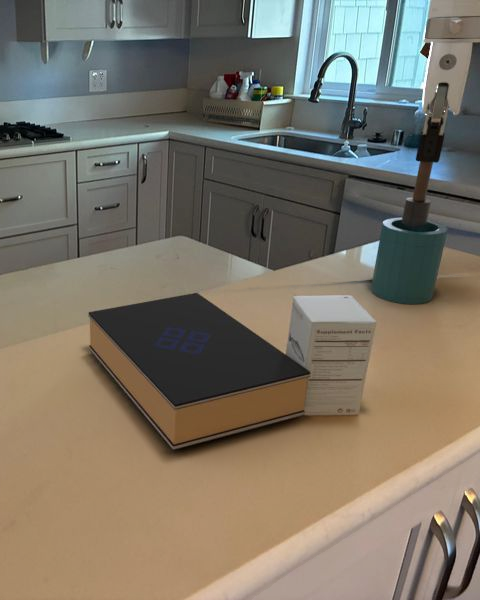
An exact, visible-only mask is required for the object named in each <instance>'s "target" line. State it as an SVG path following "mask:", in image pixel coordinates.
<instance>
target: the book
mask: <svg viewBox="0 0 480 600" xmlns="http://www.w3.org/2000/svg"><path fill="white" fill-rule="evenodd" d="M87 314H88V318H89V339H90V340H89V341H90V342H89V344H90V345H88V350H89V351H90V352H91V353H92V355H93V356H94V357H95V358H96V360H98V362H99V363H100V364H101V365H102V366H103V368H104V369H105V370H106V371H107V373H108V374H109V375H110V376H111V378H112V379H113V380H114V381H115V382H116V383H117V385H118V386H119V387H120V388H121V390H122V391H123V392H124V394H125V395H127V397H128V398H129V399H130V400H131V402H132V404H134V406H135V407H136V408H137V409H138V410H139V411H140V413H141V414H142V415H143V416H144V417H145V419H146V420H147V422H149V423H150V425H151V426H152V427H153V428H154V429H155V431H156V432H157V433H158V434H159V436H160V437H161V438H162V439H163V441H164V442H165V443H166V444H167V445H168V447H169V448H170V449H171V450H172V451H176V450H180V449H184V448H187V447H190V446H195V445H198V444H203V443H206V442H209V441H213V440H217V439H220V438H225V437H228V436H232V435H236V434H239V433H243V432H246V431H247V432H248V431H250V430H254V429H258V428H262V427H266V426H269V425H273V424H277V423H281V422H284V421H287V420H292V419H295V418H299V417H302V416H305V415H304V413H305V411H304V404H305V397H306V390H307V383H308V377H310V374H311V373H310V371H308V370H307V369H306V368H304V367H303V366H301V365H300V364H298V363H297V362H296V361H294V360H293V359H291V358H290V357H288V356H287V355H286V353H284V352H282V351H281V350H280V349H278V348H277V347H276V346H274V345H273V344H271V343H270V342H269V341H267V340H265V339H264V338H263V337H262V336H260V335H259V334H257V333H256V332H254V331H253V330H251V329H250V328H248V327H247V326H245V325H244V324H243V323H242V322H240V321H238V320H237V319H236V318H234V317H233V316H231V315H230V314H228V313H227V312H226V311H224V310H223V309H221V308H220V307H218V306H217V305H216V304H214V303H213V302H211V301H210V300H208V299H207V298H205V297H204V296H203V295H201V294H200V293H198V292H193V293H187V294H181V295H177V296H170V297H166V298H160V299H154V300H149V301H143V302H138V303H132V304H127V305H121V306H115V307H110V308H105V309H99V310H94V311H92V310H91V311H88V313H87Z"/></svg>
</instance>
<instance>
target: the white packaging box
mask: <svg viewBox="0 0 480 600" xmlns="http://www.w3.org/2000/svg"><path fill="white" fill-rule="evenodd" d="M376 327H377V321H376V319H375V318H373V316H372V315H371V314H370V313H369V312H368V311H367V310H366V309H365V308H364V306H362V305H361V304H360V303H359V302H358V301H357V299H355V298H354V296H353V295H350V294H349V295H347V294H340V295H339V294H336V295H335V294H334V295H331V294H329V295H294V296H293V297H292V304H291V312H290V321H289V327H288V336H287V343H286V350H285V354H286V355H287V356H288V357H290V358H291V359H293V360H294V361H296V362H297V363H298V364H300V365H301V366H303V367H304V368H306V369H307V370H308V371H310V373H311V374H310V377H308V383H307V390H306V397H305V404H304V411H305V413H304V415H303V416H357V415H358V416H359V414H360V410H361V404H362V399H363V393H364V387H365V383H366V378H367V373H368V368H369V362H370V357H371V353H372V347H373V344H374V337H375V333H376V332H375V331H376Z"/></svg>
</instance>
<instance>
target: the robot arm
mask: <svg viewBox="0 0 480 600" xmlns="http://www.w3.org/2000/svg"><path fill="white" fill-rule="evenodd" d="M422 43H426V44H430V49H429V55H428V60H427V65H426V72H425V77H424V84H423V91H422V102H421V103H422V104H421V105H422V107H421V112H422V113H423V114H424V115H425V120H424V125H423V130H422V131H421V132H420V135H419V141H418V145H417V150H416V155H415V161H416V162H420V161H421V162H433V163H435V164H437V163H439V162H440V159H441V153H442V149H443V144H444V139H445V132H444V131H445V127H446V122H447V118H448V113H449V112H451V113H452V114H453V116H457V115H459V114H460V112H461V111H460V110H461V107H462V106H461V105H462V101H463V97H464V92H465V87H466V83H467V78H468V73H469V69H470V64H471V58H472V51H473V45H474V43H480V0H430V1H429V6H428V11H427V18H426V22H425V27H424V32H423V39H422ZM427 128H428V130H427ZM426 133H427V135H426Z"/></svg>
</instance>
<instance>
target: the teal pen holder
mask: <svg viewBox="0 0 480 600" xmlns="http://www.w3.org/2000/svg"><path fill="white" fill-rule="evenodd" d="M401 222H402V217H393V218H387V219H384V220H383V221H382V224H381V225H382V226H381V230H380V236H379V241H378V242H379V243H378V247H377V252H376V257H375V258H376V259H375V263H374V270H373V274H372V280H371V287H370V291H371V293H372V294H373V295H375V296H376V297H378V298H380V299H382V300H386V301H388V302H392V303H396V304H403V305H422V304H426V303H429V302H430V301H432V299H433V296H434V294H435V293H434V292H435V288H436V283H437V279H438V275H439V270H440V266H441V261H442V257H443V252H444V249H445V243H446V239H447V235H448V231H449V230H448V229H449V228H448V227H447V226H446V225H445V224H442V223H440V222H438V221H434V220H430V219H427V224H426V226H425V227H410V226H406V225H403V224H402V223H401Z"/></svg>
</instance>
